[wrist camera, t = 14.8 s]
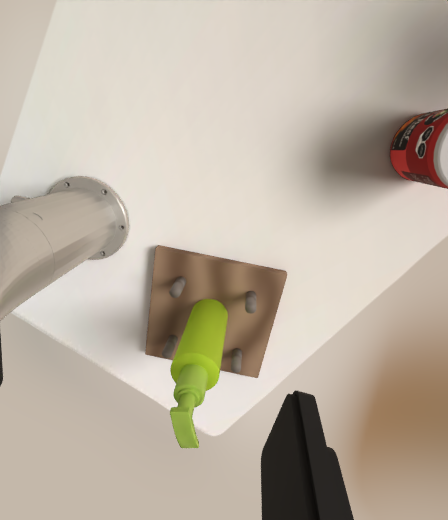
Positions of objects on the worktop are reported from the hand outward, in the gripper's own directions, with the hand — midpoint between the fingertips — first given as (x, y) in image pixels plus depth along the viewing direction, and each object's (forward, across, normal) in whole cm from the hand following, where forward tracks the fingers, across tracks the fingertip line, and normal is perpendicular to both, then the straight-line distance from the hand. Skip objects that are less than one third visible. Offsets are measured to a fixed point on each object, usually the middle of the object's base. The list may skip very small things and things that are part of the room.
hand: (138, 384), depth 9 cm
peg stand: (+35, -2, +19) cm, 40 cm away
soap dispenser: (+34, -2, +19) cm, 39 cm away
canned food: (+35, -22, -12) cm, 43 cm away
